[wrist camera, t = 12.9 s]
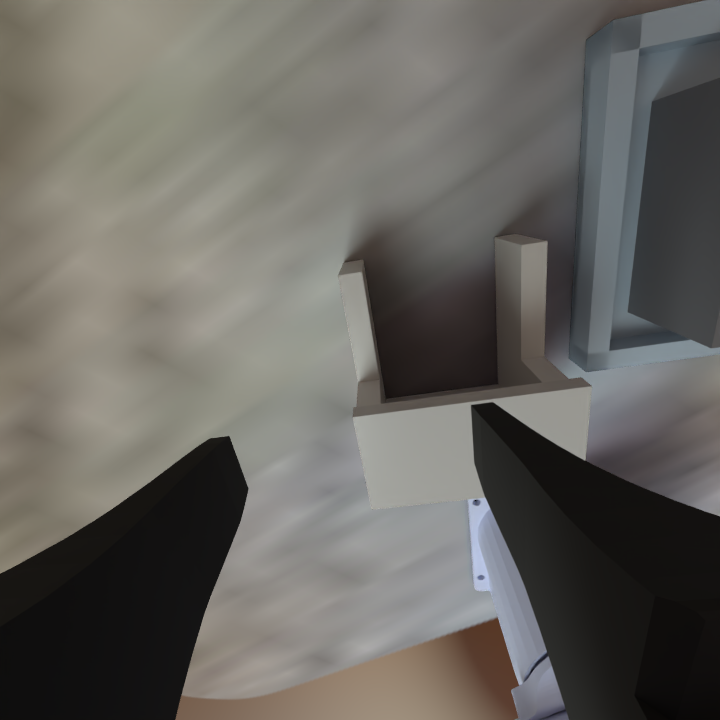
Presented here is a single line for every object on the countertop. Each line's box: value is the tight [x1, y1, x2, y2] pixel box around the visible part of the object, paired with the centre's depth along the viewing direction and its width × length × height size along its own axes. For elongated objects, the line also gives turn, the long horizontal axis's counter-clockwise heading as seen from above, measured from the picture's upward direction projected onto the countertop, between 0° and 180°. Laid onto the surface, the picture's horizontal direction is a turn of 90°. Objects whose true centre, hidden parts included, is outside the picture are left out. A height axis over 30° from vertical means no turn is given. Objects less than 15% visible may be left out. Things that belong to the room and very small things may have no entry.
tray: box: [569, 0, 720, 372], centre depth 16 cm, size 14×9×2 cm, turn 10°
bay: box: [338, 234, 592, 510], centre depth 17 cm, size 9×8×7 cm
